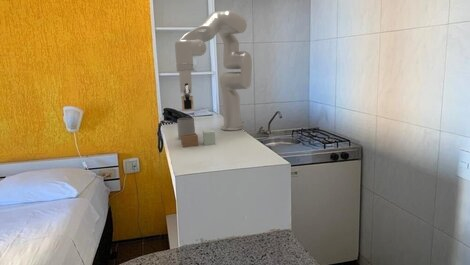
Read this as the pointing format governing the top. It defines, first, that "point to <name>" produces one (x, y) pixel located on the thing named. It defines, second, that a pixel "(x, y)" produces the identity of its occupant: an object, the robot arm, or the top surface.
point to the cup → (185, 126)
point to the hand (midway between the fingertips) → (187, 107)
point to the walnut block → (189, 140)
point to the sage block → (209, 137)
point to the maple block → (183, 103)
